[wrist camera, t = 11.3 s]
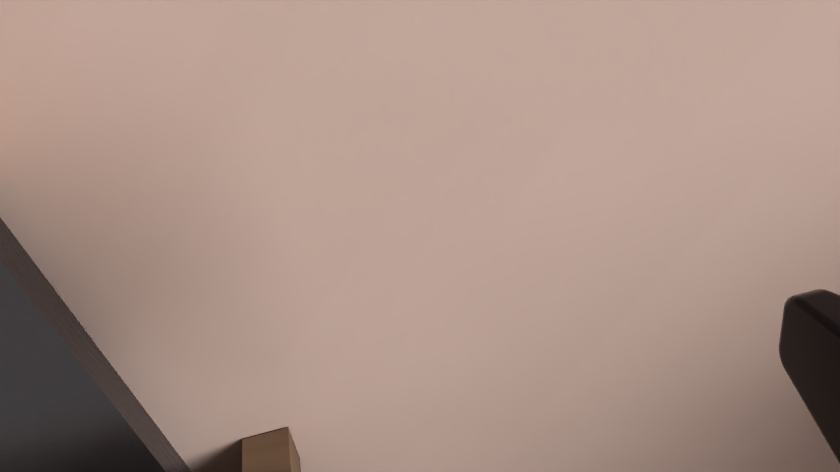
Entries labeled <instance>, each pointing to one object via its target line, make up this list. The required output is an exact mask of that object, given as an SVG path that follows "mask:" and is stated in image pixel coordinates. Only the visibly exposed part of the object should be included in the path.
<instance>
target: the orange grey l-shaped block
mask: <svg viewBox="0 0 840 472" xmlns="http://www.w3.org/2000/svg"><path fill="white" fill-rule="evenodd" d="M0 472H191V471H190V469H189V468H188V467H187V465H186V464H185V463H184V461H183V460H182V459H181V457H180V456H179V455H178V453H177V452H176V451H175V449H174V448H173V447H172V445H171V444H170V443H169V441H168V440H167V439H166V437H165V436H164V435H163V433H162V432H161V431H160V429H159V428H158V427H157V425H156V424H155V423H154V421H153V420H152V419H151V417H150V416H149V415H148V413H147V412H146V411H145V409H144V408H143V407H142V405H141V404H140V403H139V401H138V400H137V399H136V397H135V396H134V395H133V393H132V392H131V391H130V389H129V388H128V387H127V385H126V384H125V383H124V382H123V380H122V379H121V378H120V376H119V375H118V374H117V372H116V371H115V370H114V368H113V367H112V366H111V364H110V363H109V362H108V360H107V359H106V358H105V356H104V355H103V354H102V352H101V351H100V350H99V348H98V347H97V346H96V344H95V343H94V342H93V340H92V339H91V338H90V336H89V335H88V334H87V332H86V331H85V330H84V328H83V327H82V326H81V324H80V323H79V322H78V320H77V319H76V318H75V316H74V315H73V314H72V312H71V311H70V310H69V308H68V307H67V306H66V304H65V303H64V302H63V300H62V299H61V298H60V296H59V295H58V294H57V292H56V291H55V290H54V288H53V287H52V286H51V285H50V283H49V282H48V281H47V279H46V278H45V277H44V275H43V274H42V273H41V271H40V270H39V269H38V267H37V266H36V265H35V263H34V262H33V261H32V259H31V258H30V257H29V255H28V254H27V253H26V251H25V250H24V249H23V247H22V246H21V245H20V243H19V242H18V241H17V239H16V238H15V237H14V235H13V234H12V233H11V231H10V230H9V229H8V227H7V226H6V225H5V223H4V222H3V221H2V219H1V218H0Z"/></svg>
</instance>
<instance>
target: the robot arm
mask: <svg viewBox="0 0 840 472" xmlns="http://www.w3.org/2000/svg"><path fill="white" fill-rule="evenodd" d="M779 353H780V358H781V362H782V364H783V366H784V368H785V370H786V372H787V374H788V375H789V377H790V379H791V381H792V382H793V384H794V386H795V388H796V389H797V391H798V393H799V394H800V396H801V398H802V400H803V401H804V403H805V405H806V406H807V408H808V410H809V412H810V413H811V415H812V417H813V418H814V420H815V422H816V424H817V425H818V427H819V429H820V431H821V432H822V434H823V436H824V437H825V439H826V441H827V443H828V444H829V446H830V448H831V449H832V451H833V453H834V455H835V456H836V458H837V460H838V461H839V463H840V295H838V294H835V293H833V292H830V291H827V290H822V289H820V290H813V291H810V292H806V293H802V294H798V295H794V296H792V297H790V298H788V300H787V301H786V303H785V306H784V312H783V320H782V327H781V335H780V343H779Z"/></svg>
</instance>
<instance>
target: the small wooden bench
mask: <svg viewBox="0 0 840 472" xmlns="http://www.w3.org/2000/svg"><path fill="white" fill-rule="evenodd" d="M242 472H301V469H300V458H299V455H298V452H297V450H296V447H295V444H294V442H293V439H292V436H291V434H290V431H289V428H288V427H287V428H284V429H280V430H276V431H272V432H268V433H264V434H260V435H257V436H253V437H249V438H245V439H242Z"/></svg>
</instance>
